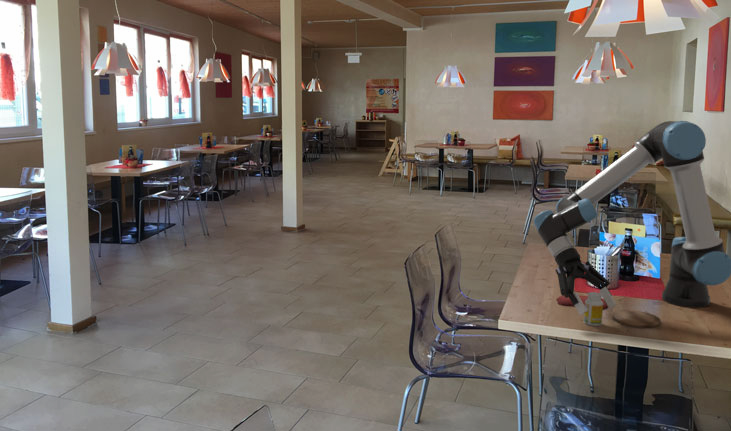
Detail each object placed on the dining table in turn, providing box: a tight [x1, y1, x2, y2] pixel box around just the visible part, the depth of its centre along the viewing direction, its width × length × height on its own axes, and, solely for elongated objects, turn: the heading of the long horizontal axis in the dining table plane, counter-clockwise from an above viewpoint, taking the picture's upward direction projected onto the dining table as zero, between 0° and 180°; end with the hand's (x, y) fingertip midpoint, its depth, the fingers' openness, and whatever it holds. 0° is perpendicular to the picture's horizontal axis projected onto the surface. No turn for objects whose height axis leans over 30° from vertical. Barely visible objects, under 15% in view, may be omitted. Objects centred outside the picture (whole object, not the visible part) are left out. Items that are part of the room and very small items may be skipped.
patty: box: [556, 294, 609, 310], centre depth 216 cm, size 18×14×2 cm
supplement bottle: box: [583, 291, 604, 327], centre depth 193 cm, size 5×5×10 cm
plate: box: [611, 309, 661, 329], centre depth 197 cm, size 14×14×1 cm
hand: (599, 309), depth 192 cm, fingers open, 13 cm apart
